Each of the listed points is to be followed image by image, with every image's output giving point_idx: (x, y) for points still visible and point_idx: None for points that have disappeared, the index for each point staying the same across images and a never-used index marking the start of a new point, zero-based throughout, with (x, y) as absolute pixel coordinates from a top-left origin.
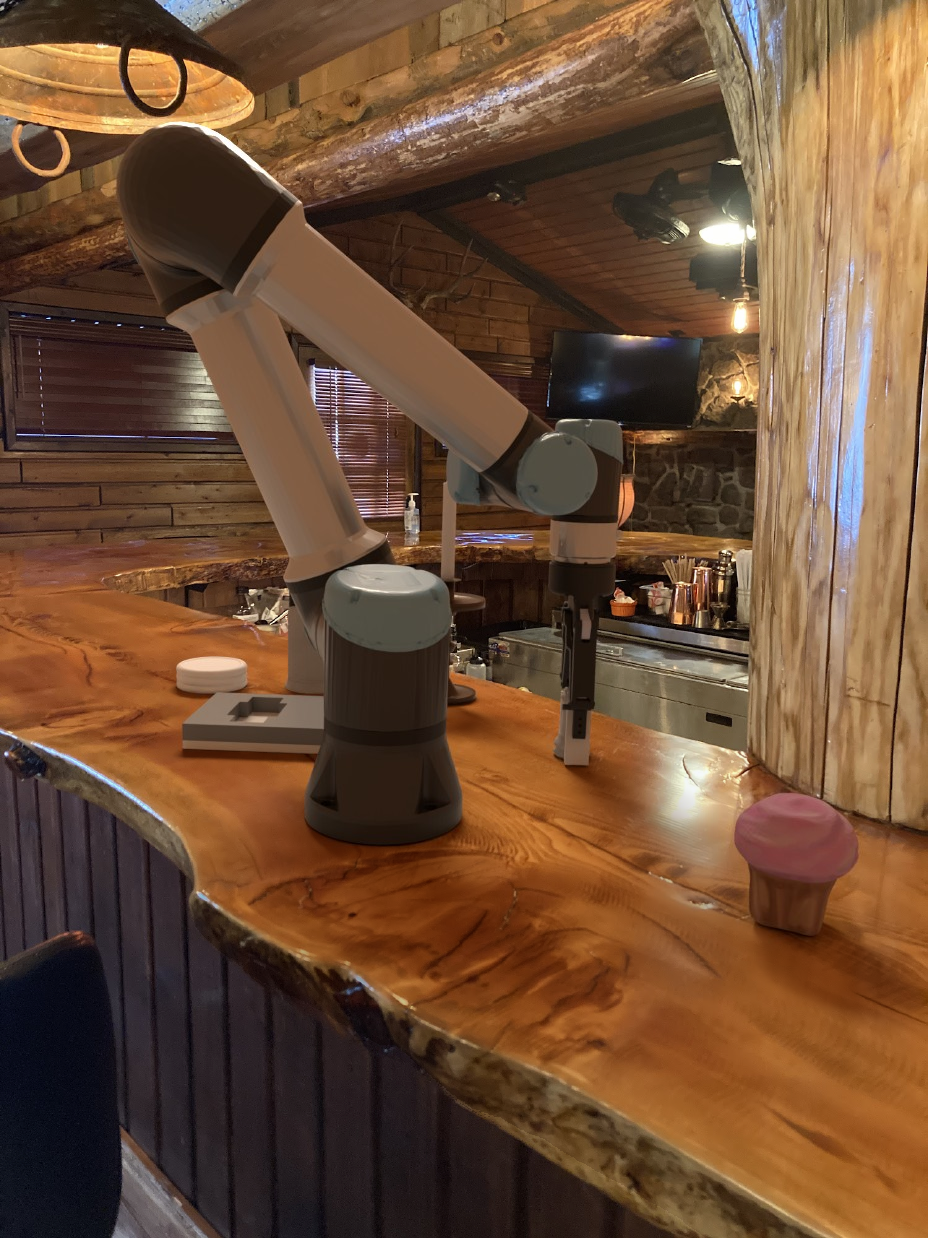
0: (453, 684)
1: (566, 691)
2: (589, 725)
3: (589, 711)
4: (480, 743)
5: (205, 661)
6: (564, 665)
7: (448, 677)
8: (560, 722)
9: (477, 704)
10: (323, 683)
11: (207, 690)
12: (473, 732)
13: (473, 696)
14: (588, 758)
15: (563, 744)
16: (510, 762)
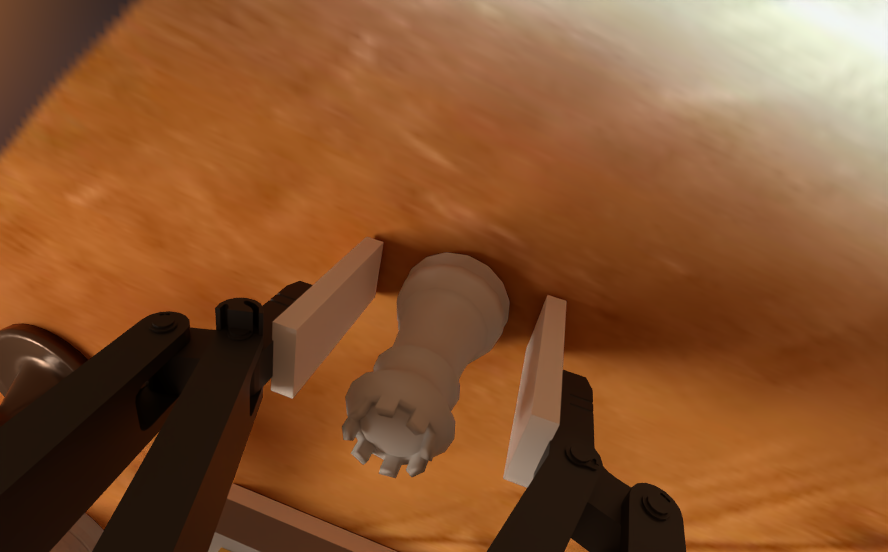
0: (20, 385)
1: (397, 468)
2: (559, 381)
3: (556, 424)
4: (357, 440)
5: None
6: (228, 491)
7: (10, 410)
8: (346, 329)
9: (85, 341)
10: (85, 545)
11: None
12: (284, 423)
13: (52, 345)
14: (564, 311)
15: (479, 356)
16: (489, 441)
